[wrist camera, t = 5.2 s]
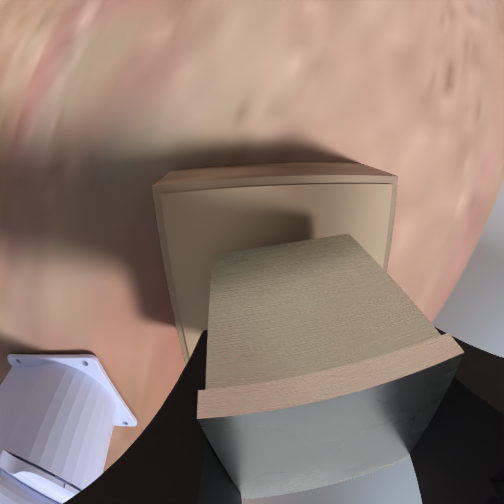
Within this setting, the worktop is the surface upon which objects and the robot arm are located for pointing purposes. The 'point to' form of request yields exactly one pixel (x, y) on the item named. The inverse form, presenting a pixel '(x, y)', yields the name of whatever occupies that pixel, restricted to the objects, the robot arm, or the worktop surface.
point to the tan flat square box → (261, 220)
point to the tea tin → (316, 366)
